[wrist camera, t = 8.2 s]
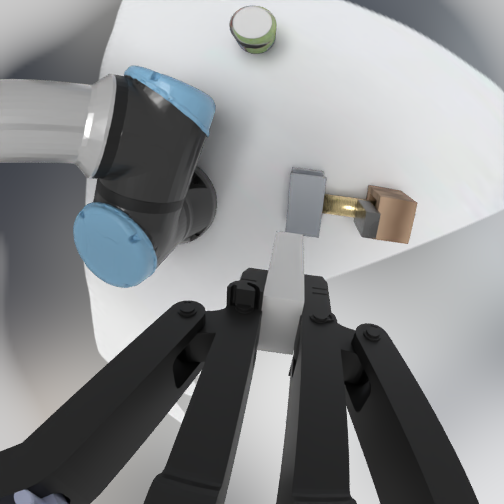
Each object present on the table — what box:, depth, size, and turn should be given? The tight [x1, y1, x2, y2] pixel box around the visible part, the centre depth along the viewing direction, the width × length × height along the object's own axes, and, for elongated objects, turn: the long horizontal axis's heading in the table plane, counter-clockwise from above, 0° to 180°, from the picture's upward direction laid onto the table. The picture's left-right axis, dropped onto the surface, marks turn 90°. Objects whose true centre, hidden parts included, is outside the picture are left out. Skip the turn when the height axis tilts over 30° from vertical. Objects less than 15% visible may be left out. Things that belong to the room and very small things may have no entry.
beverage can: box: [230, 6, 276, 54], centre depth 32 cm, size 6×7×12 cm
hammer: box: [322, 194, 381, 239], centre depth 40 cm, size 12×4×10 cm, turn 87°
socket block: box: [366, 185, 417, 244], centre depth 42 cm, size 6×6×8 cm
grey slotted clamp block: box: [286, 167, 326, 238], centre depth 44 cm, size 5×9×7 cm, turn 177°
